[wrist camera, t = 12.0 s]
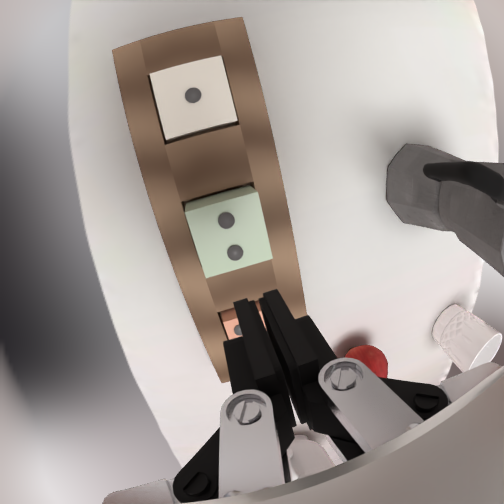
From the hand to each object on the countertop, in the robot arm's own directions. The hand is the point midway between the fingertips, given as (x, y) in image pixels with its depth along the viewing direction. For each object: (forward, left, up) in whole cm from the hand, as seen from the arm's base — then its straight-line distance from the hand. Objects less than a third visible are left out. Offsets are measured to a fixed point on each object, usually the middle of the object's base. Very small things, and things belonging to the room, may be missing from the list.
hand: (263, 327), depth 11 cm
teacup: (+38, 0, -16) cm, 41 cm away
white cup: (+25, +29, -16) cm, 41 cm away
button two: (0, 0, -13) cm, 13 cm away
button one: (-10, 0, -15) cm, 18 cm away
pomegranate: (+21, +11, -16) cm, 29 cm away
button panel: (0, 0, -16) cm, 16 cm away
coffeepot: (+1, +20, -16) cm, 26 cm away
